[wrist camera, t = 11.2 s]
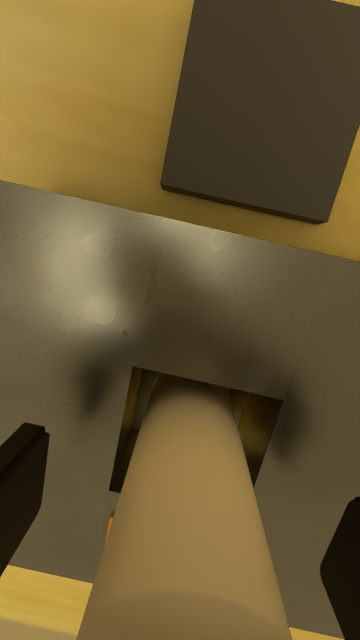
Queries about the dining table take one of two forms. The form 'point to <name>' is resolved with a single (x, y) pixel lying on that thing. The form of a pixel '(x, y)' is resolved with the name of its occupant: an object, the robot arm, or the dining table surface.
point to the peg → (186, 531)
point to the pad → (266, 105)
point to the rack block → (177, 371)
